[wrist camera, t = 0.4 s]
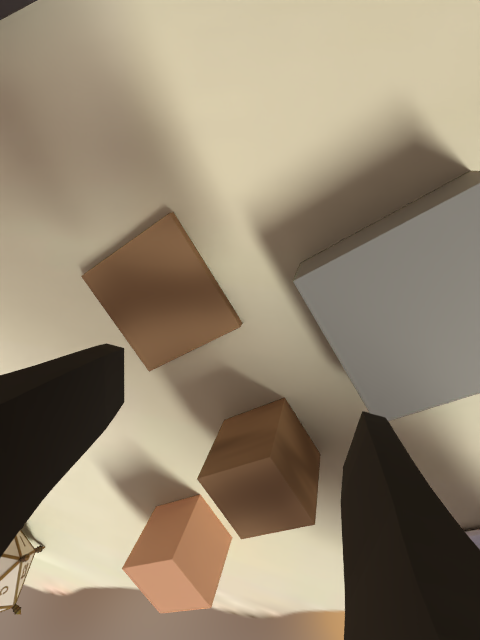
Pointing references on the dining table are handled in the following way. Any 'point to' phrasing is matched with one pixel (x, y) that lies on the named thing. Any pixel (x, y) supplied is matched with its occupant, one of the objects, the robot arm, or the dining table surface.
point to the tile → (162, 294)
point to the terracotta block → (180, 556)
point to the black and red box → (12, 6)
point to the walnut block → (263, 471)
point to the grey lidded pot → (15, 570)
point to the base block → (405, 302)
